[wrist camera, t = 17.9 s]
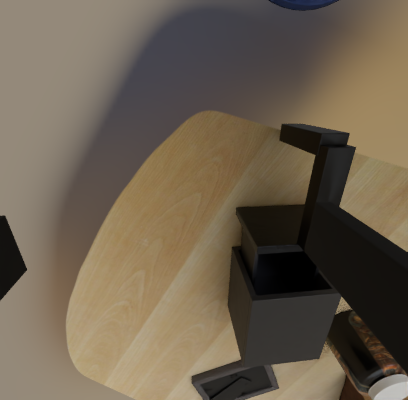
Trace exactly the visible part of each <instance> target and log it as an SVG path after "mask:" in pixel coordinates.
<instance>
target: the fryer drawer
mask: <svg viewBox="0 0 408 400" xmlns="http://www.w3.org/2000/svg"><path fill="white" fill-rule="evenodd" d="M348 138H349V133H346V132H341V131H336V130H331V129H326V128H321V127H316V126H311V125H305V124H282V126H281V133H280V141H282V142H284V143H287V144H289V145H292V146H294V147H297V148H299V149H302V150H304V151H307V152H309V153H312V154H314V155H316V156H315V160H314V165H313V170H312V174H311V179H310V183H309V188H308V193H307V197H306V202H305V205H288V206H265V207H242V208H236V215H237V217H238V219H239V221H240V223H241V225H242V227H243V231H242V242H241V253H240V256H241V258H242V261H243V263H244V265H245V268H246V270H247V273H248V275H249V278H250V280H251V283H252V285H253V287H254V290H255V292H256V295H268V294H280V293H291V292H303V291H313V290H314V286H315V282H316V279H317V275H318V272H319V269H318V267H317V266H316V265H315V264H314V263H313V261H312V260H311V259H310V258H309V257H308V255H307V254H306V253H305V252H304V249H305V245H306V241H307V236H308V232H309V228H310V224H311V219H312V215H313V211H314V207H315V202H332V203H334V204H335V205H337V206H338V207H339V205H340V202H341V198H342V195H343V191H344V188H345V184H346V181H347V177H348V174H349V170H350V167H351V163H352V160H353V156H354V153H355V149H356V147H353V146H349V145H347V142H348Z"/></svg>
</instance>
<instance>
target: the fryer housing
mask: <svg viewBox="0 0 408 400" xmlns="http://www.w3.org/2000/svg"><path fill="white" fill-rule="evenodd" d="M240 253H241V247H232V255H231V268H230V282H229V296H228V308H229V312H230V316H231V320H232V324H233V328H234V332H235V336H236V340H237V344H238V348H239V352H240V356H241V360H242V364H243V368H247V367H256V366H264V365H272V364H280V363H289V362H297V361H305V360H313V359H319V358H320V355H321V352H322V349H323V347H324V344H325V341H326V338H327V335H328V332H329V330H330V327H331V324H332V321H333V318H334V316H335V313H336V310H337V307H338V304H339V302H340V299H341V295H340V294H339V292H338V291H337V290H336V289H335V288H334V286H333V285H332V284H331V283H330V282H329V281H328V279H327V278H326V277H325V276H324V275H323V273H322V272H321V271H320V270H319V272H318V275H317V279H316V282H315V286H314V290H313V291H303V292H291V293H280V294H268V295H256V292H255V290H254V287H253V285H252V283H251V280H250V278H249V275H248V273H247V270H246V268H245V265H244V263H243V261H242V258H241V256H240Z"/></svg>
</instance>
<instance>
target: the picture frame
mask: <svg viewBox="0 0 408 400" xmlns="http://www.w3.org/2000/svg"><path fill="white" fill-rule="evenodd" d="M192 384H193V386H194V387H195V388H196V390H197V391H198V393H199V394H200V396H201V397H202V398H203V400H245V399H248V398H251V397H254V396H257V395H260V394H263V393H266V392H270V391H273V390H276V389H279V386H278V384H277V381H276V378H275V376H274V373H273V370H272V368H271V365H264V366H256V367H247V368H243V364H242V360H240V361H237V362H234V363H231V364H228V365H225V366H222V367H219V368H216V369H213V370H210V371H207V372H204V373H201V374H198V375H195V376H192Z"/></svg>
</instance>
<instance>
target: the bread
mask: <svg viewBox="0 0 408 400" xmlns="http://www.w3.org/2000/svg"><path fill="white" fill-rule="evenodd" d="M340 400H372V399H371V397H369V396H363V395H361V394H360V393H359V392H358V391H357V390H356V388H355V387H354V385H353V384H352V382H351V381H350V379H349V378H348V376H347V378H346V381H345V385H344V388H343V391H342V394H341V398H340ZM402 400H408V396H407V397H406V398H404V399H402Z"/></svg>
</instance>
